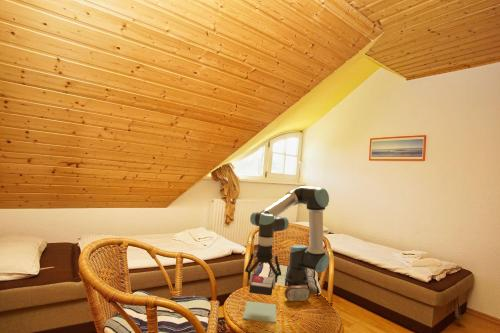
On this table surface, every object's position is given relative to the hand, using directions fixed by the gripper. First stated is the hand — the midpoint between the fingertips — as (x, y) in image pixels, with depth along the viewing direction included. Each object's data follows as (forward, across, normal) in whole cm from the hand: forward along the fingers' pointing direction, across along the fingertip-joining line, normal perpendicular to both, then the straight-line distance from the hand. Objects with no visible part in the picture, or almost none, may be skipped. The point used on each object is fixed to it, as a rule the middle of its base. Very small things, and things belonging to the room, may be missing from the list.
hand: (262, 287), depth 146 cm
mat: (+13, 0, 0) cm, 13 cm away
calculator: (+1, 0, 0) cm, 1 cm away
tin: (+13, -20, -18) cm, 30 cm away
